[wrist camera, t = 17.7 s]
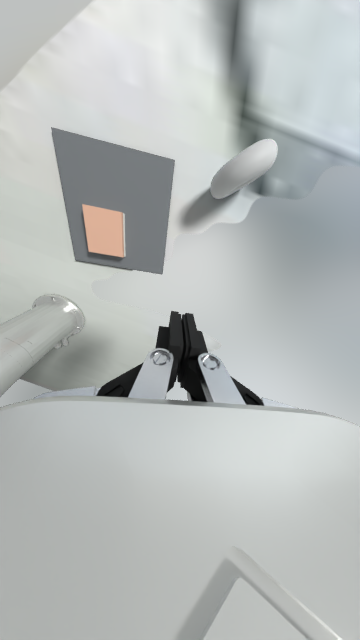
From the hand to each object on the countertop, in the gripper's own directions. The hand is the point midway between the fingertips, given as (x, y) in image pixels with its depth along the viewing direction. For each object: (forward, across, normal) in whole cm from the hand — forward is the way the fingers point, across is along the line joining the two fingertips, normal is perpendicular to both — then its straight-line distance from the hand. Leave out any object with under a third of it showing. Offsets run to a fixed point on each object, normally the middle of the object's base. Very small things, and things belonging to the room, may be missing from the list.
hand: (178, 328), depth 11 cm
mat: (+27, +13, -8) cm, 31 cm away
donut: (+27, -8, -17) cm, 33 cm away
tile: (+26, +12, -5) cm, 28 cm away
